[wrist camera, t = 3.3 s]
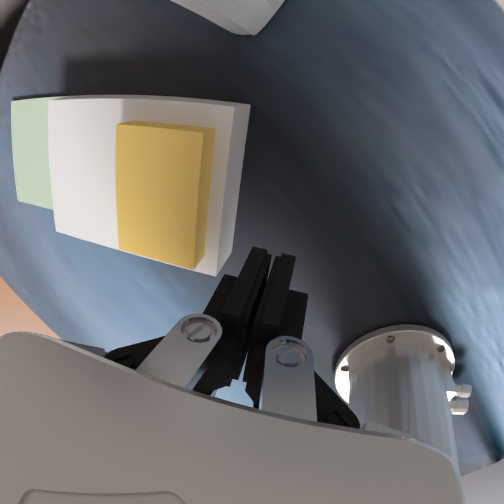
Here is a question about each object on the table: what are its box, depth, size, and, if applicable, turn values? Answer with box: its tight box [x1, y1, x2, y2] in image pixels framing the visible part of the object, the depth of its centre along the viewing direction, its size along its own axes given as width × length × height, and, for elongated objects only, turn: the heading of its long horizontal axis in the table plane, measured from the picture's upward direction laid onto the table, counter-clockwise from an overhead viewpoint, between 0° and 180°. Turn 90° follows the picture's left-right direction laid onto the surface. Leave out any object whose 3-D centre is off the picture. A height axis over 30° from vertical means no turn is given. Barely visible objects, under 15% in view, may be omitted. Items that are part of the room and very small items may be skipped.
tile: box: [116, 120, 216, 270], centre depth 20 cm, size 6×9×2 cm, turn 173°
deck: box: [48, 95, 251, 277], centre depth 24 cm, size 16×12×4 cm
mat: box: [11, 96, 72, 210], centre depth 27 cm, size 11×12×1 cm
